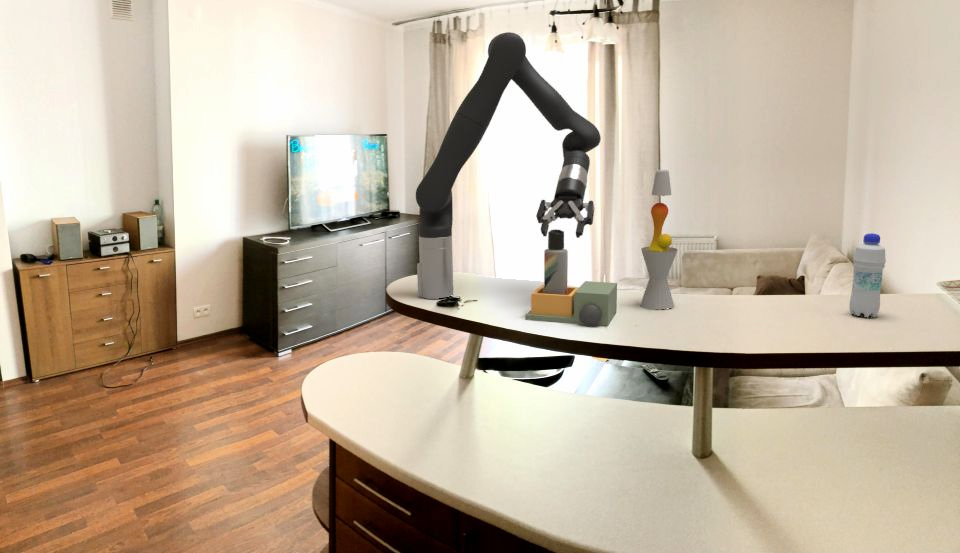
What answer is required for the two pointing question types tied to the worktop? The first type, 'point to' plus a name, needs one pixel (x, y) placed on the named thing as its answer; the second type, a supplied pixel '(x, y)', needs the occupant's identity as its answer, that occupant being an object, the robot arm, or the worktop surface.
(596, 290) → the tray with knob box
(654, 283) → the lava lamp
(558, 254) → the lotion bottle
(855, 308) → the bottle
